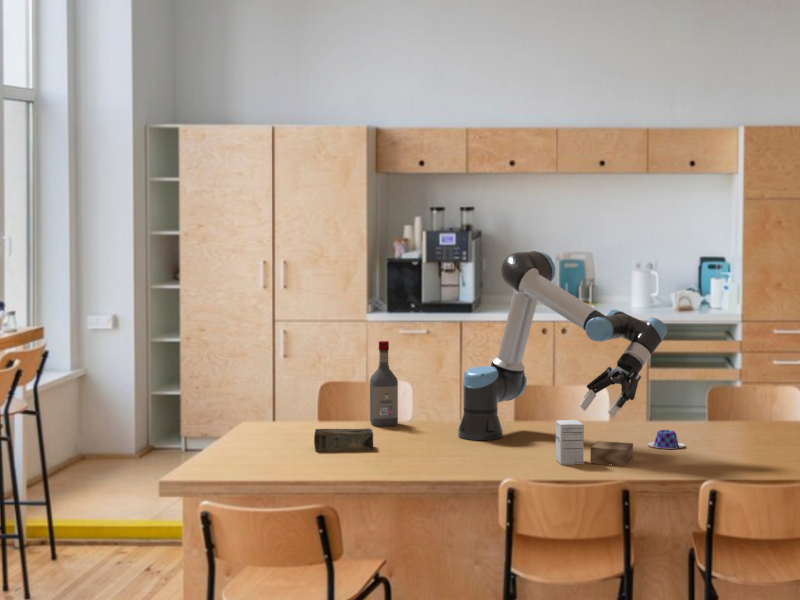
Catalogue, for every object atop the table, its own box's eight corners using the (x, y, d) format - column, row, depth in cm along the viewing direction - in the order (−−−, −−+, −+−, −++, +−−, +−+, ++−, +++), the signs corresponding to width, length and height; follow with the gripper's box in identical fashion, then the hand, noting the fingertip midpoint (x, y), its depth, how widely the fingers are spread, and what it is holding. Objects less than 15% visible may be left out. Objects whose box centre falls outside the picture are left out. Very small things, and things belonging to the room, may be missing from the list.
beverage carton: (374, 451, 397) (373, 431, 397) (314, 452, 396) (314, 432, 395) (372, 446, 405) (372, 426, 405) (314, 447, 404) (313, 427, 403)
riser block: (590, 463, 377) (590, 447, 377) (597, 456, 388) (598, 440, 387) (626, 466, 373) (626, 450, 373) (632, 459, 384) (633, 443, 383)
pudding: (665, 452, 396) (665, 436, 395) (639, 445, 406) (640, 430, 406) (692, 448, 402) (693, 432, 401) (667, 442, 412) (667, 426, 412)
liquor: (398, 425, 440) (398, 342, 438) (373, 427, 438) (373, 343, 436) (393, 421, 449) (393, 339, 447) (369, 422, 447) (368, 340, 445)
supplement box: (554, 460, 383) (555, 419, 382) (578, 459, 383) (578, 419, 382) (559, 465, 375) (560, 424, 374) (583, 464, 376) (584, 423, 375)
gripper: (666, 372, 380) (629, 424, 374) (613, 363, 402) (577, 412, 395) (654, 356, 377) (616, 409, 371) (600, 348, 399) (564, 398, 392)
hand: (596, 411), depth 383 cm, fingers open, 13 cm apart
